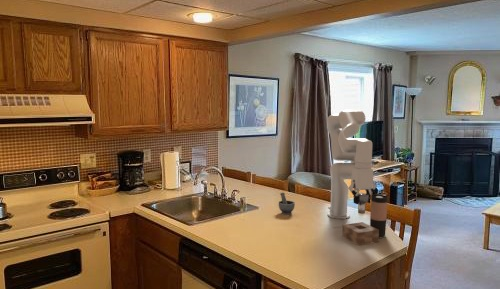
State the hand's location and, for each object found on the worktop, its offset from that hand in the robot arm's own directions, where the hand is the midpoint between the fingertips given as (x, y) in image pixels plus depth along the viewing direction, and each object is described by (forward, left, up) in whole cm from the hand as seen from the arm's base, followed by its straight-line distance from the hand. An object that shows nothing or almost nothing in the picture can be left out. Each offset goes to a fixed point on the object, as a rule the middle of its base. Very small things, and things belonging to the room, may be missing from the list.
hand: (361, 202), depth 173 cm
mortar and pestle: (-50, -15, -19) cm, 56 cm away
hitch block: (0, 0, -18) cm, 18 cm away
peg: (0, 0, -5) cm, 5 cm away
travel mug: (-2, +12, -19) cm, 22 cm away
